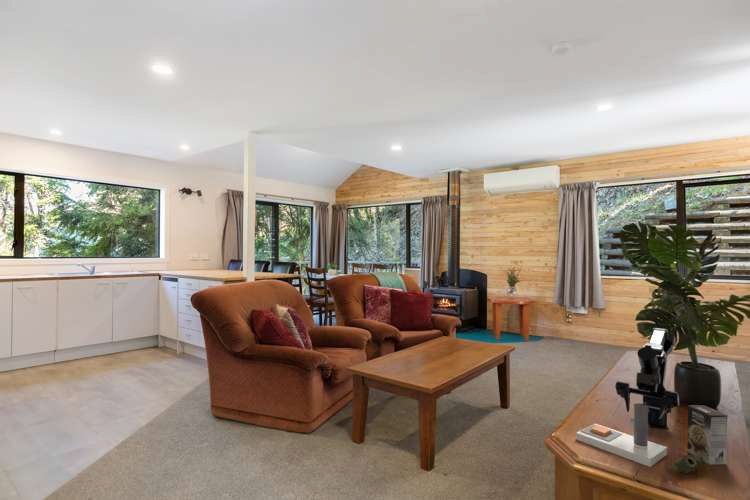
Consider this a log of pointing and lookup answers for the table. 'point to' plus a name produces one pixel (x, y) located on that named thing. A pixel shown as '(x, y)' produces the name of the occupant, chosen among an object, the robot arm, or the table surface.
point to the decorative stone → (687, 463)
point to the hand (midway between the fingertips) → (643, 415)
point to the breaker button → (601, 431)
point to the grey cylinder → (640, 426)
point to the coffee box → (707, 434)
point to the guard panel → (623, 446)
